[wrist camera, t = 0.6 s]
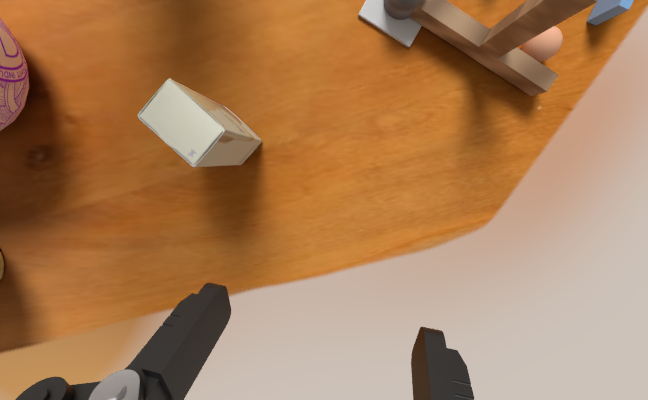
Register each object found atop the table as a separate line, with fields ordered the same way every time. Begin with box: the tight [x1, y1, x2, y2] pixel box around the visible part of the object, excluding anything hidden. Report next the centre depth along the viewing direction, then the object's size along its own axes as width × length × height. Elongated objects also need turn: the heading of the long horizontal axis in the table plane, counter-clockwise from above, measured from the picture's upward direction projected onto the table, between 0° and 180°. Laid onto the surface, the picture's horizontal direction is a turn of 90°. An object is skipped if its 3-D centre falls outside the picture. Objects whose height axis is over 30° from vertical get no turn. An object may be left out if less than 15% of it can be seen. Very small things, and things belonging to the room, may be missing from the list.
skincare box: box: [138, 78, 262, 167], centre depth 28 cm, size 6×4×12 cm
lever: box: [384, 0, 598, 96], centre depth 25 cm, size 21×4×13 cm, turn 60°
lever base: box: [358, 0, 422, 48], centre depth 31 cm, size 7×7×1 cm
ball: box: [521, 26, 563, 62], centre depth 30 cm, size 4×4×4 cm
